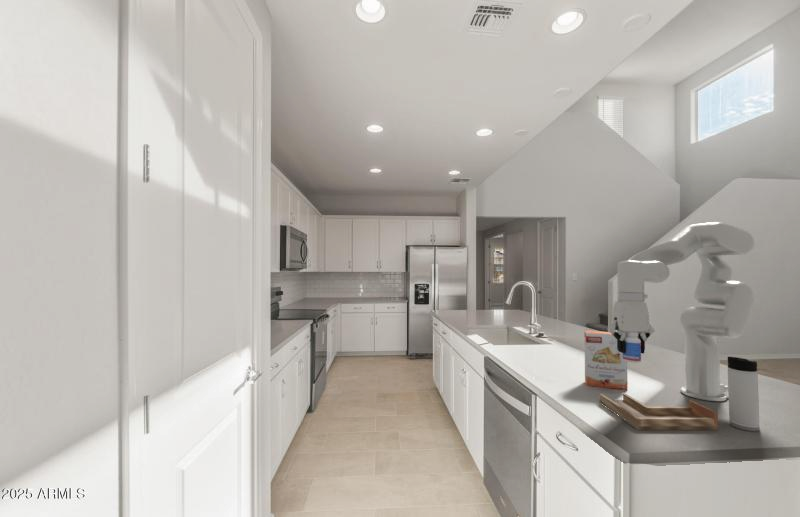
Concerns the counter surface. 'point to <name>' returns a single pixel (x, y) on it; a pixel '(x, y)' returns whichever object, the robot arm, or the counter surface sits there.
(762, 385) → the counter surface
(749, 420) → the travel mug
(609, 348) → the cracker box
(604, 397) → the channel track
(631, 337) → the pill bottle
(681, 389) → the robot arm
